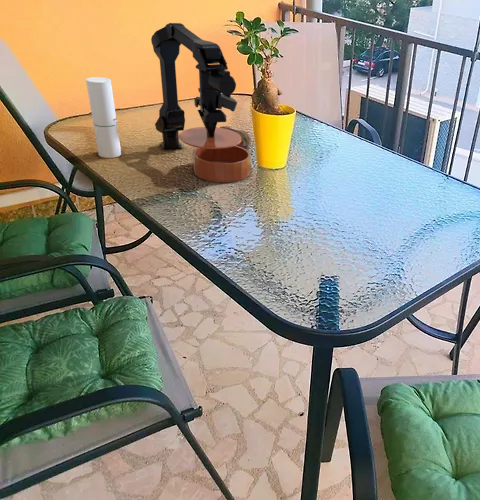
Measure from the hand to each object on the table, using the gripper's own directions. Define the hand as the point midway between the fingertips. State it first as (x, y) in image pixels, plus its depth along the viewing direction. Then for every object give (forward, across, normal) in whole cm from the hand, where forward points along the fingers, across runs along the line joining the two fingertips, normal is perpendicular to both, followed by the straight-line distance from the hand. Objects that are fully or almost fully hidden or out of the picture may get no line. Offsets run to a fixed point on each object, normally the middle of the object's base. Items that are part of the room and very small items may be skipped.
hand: (210, 135), depth 153 cm
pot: (+13, -1, -4) cm, 13 cm away
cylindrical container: (+13, +20, +30) cm, 39 cm away
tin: (+13, +19, -13) cm, 26 cm away
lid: (+1, 0, 0) cm, 1 cm away
